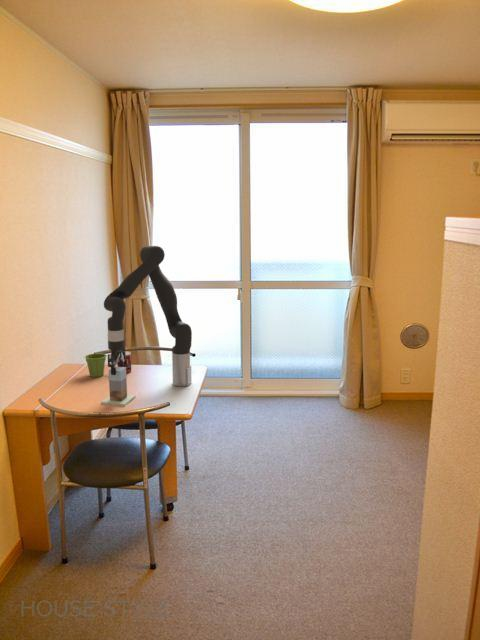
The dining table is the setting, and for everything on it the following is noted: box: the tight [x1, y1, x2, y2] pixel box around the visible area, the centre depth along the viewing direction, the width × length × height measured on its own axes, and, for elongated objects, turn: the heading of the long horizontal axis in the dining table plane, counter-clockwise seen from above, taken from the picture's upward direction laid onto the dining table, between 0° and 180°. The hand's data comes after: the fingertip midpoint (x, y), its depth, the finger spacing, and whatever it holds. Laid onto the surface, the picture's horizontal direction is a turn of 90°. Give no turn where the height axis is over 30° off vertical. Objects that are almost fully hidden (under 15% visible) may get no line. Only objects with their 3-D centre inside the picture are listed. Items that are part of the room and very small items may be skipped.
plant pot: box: [84, 352, 108, 378], centre depth 282 cm, size 12×12×11 cm
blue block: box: [108, 366, 127, 381], centre depth 243 cm, size 6×6×5 cm
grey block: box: [108, 377, 128, 391], centre depth 244 cm, size 6×6×5 cm
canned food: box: [116, 350, 132, 375], centre depth 289 cm, size 8×8×11 cm
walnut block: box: [109, 387, 128, 401], centre depth 245 cm, size 6×6×5 cm
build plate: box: [100, 394, 136, 407], centre depth 246 cm, size 12×12×1 cm
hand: (117, 372), depth 243 cm, fingers open, 8 cm apart
